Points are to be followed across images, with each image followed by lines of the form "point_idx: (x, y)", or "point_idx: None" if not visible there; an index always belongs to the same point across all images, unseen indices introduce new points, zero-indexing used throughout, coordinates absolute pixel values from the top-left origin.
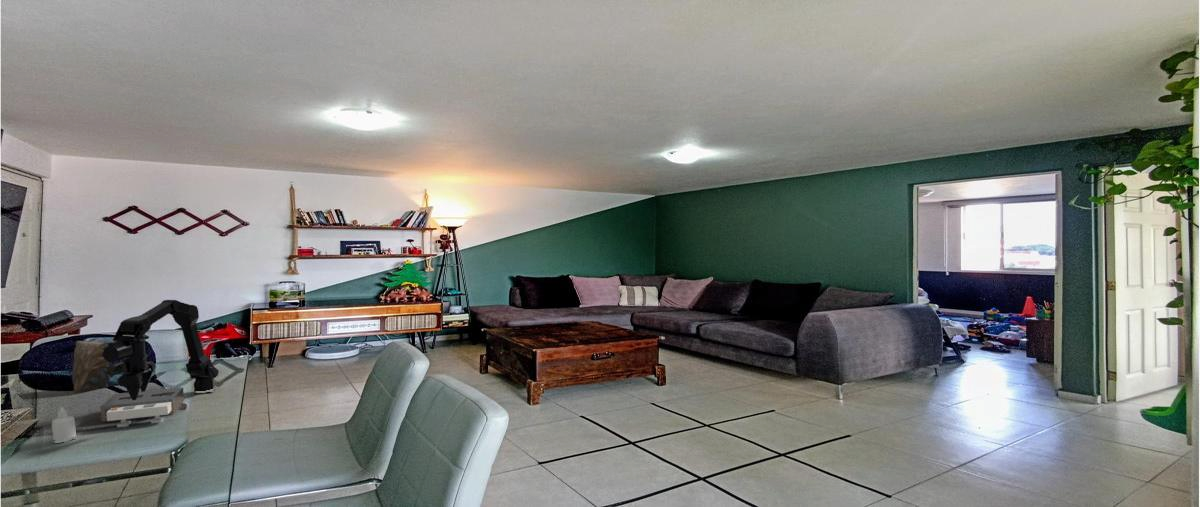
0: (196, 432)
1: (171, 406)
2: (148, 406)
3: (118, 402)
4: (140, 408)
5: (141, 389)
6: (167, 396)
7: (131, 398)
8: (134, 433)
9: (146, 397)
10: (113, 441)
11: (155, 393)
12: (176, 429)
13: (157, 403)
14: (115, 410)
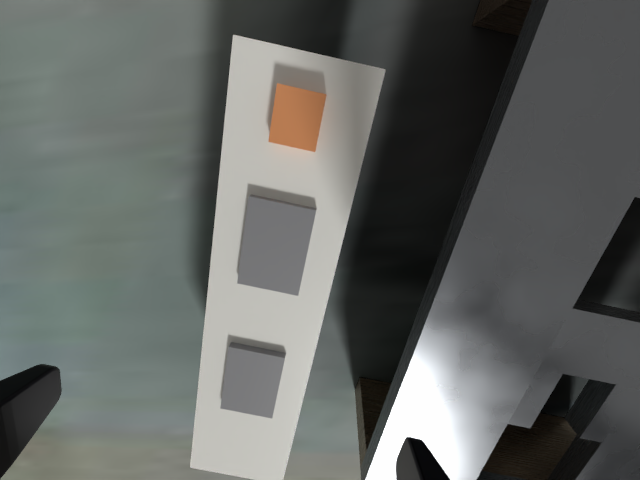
0: (34, 456)
1: (360, 428)
2: (226, 376)
3: (593, 120)
4: (213, 325)
5: (412, 469)
6: (459, 467)
7: (6, 378)
8: (113, 233)
9: (560, 349)
10: (7, 134)
11: (634, 403)
12: (102, 398)
13: (292, 421)
14: (261, 125)
